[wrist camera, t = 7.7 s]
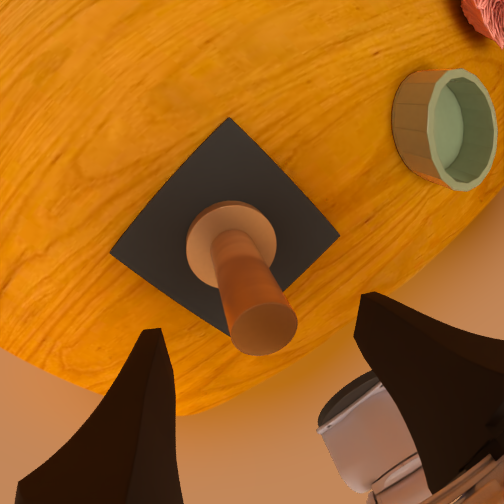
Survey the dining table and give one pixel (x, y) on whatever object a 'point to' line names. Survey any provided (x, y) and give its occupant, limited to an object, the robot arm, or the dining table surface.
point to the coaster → (211, 192)
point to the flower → (486, 18)
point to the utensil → (242, 274)
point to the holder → (445, 127)
